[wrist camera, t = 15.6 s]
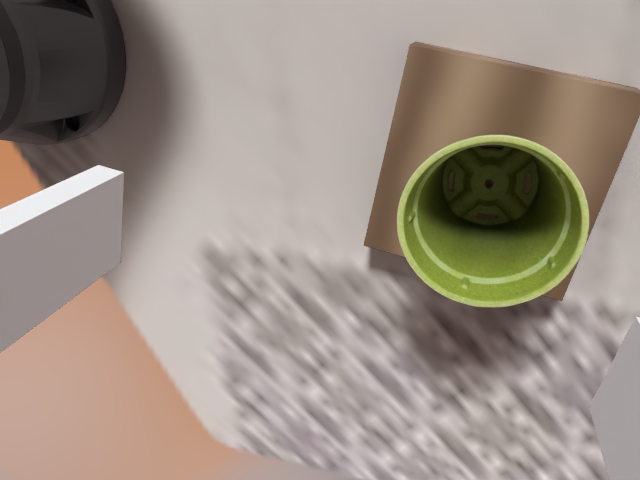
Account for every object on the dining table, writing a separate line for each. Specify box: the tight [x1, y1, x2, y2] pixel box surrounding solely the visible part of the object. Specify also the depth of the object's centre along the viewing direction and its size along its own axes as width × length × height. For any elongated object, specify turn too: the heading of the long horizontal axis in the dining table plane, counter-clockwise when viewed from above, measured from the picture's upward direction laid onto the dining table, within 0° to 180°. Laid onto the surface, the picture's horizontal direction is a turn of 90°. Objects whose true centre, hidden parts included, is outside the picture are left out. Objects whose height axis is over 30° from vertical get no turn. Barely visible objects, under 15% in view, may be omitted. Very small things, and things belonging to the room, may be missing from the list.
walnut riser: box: [364, 42, 640, 301], centre depth 38 cm, size 14×14×3 cm
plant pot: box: [397, 135, 589, 307], centre depth 33 cm, size 9×9×9 cm
